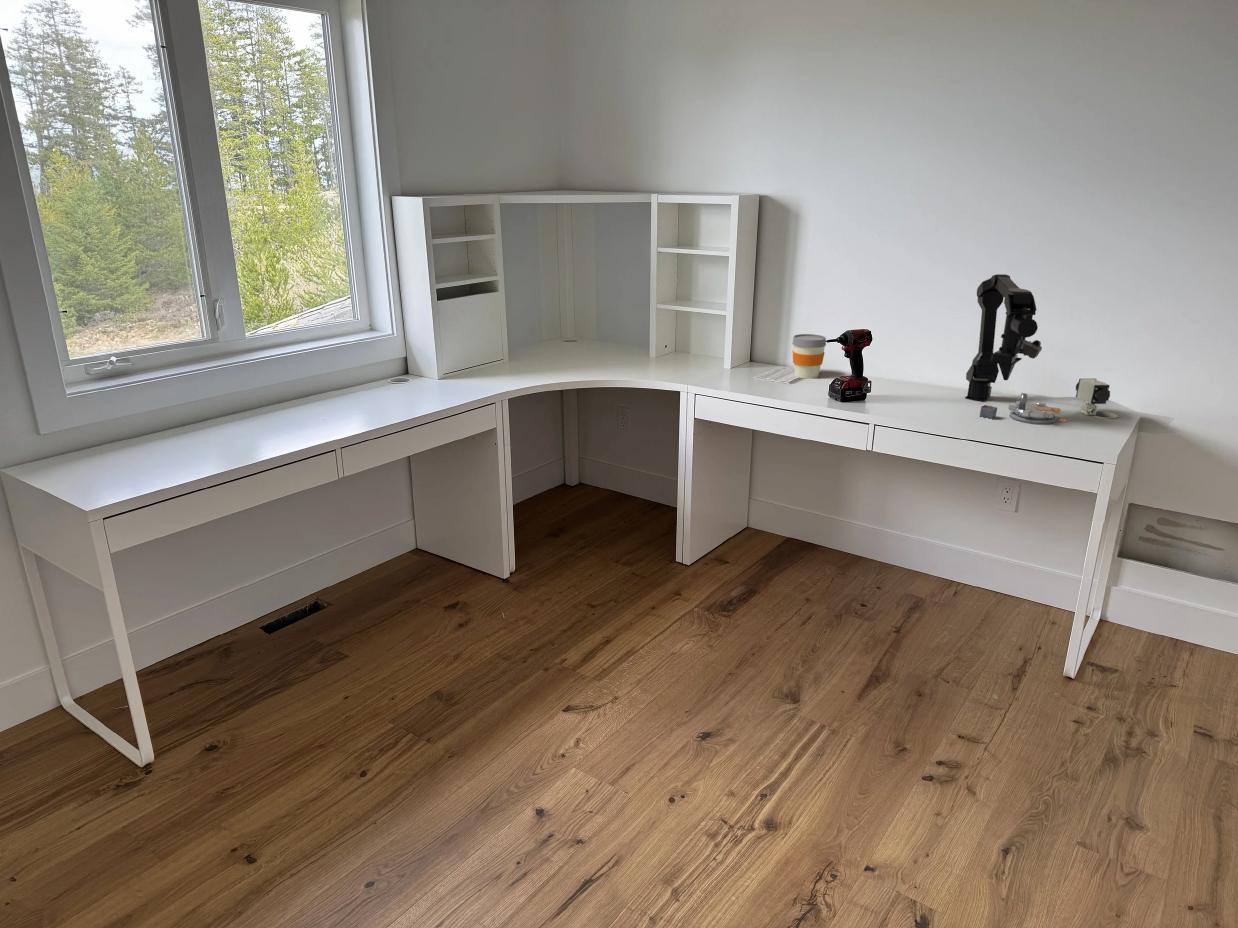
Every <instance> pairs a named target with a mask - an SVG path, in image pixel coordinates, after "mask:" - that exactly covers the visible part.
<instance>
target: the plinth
mask: <svg viewBox="0 0 1238 928" xmlns="http://www.w3.org/2000/svg"><path fill="white" fill-rule="evenodd" d="M1009 417H1010V418H1011V419H1013V420H1015V421H1017V422H1021V423H1025V424H1032V425H1053V424H1055V423H1056V422H1057V416H1056V415H1054V418H1052V419H1048V420H1037V419H1028V418H1024V417H1020V416H1017V415H1015V414H1014V413H1013V411H1012V410H1010V412H1009ZM1058 422H1062V423H1066V422H1067V419H1064V418H1059V419H1058Z"/></svg>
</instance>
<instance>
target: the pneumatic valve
mask: <svg viewBox="0 0 1238 928" xmlns="http://www.w3.org/2000/svg"><path fill="white" fill-rule="evenodd" d="M1075 391H1076V395H1075V397H1076V398H1078V399H1080V400H1082V401H1083V402H1082V403H1081V406H1080V411H1079V412H1080V413H1081V414H1082V415H1084V416H1096V414H1097V412H1098V410H1097V408H1098V405H1106V404H1107V401H1109V399H1110V396H1111V391H1110V384H1107V383H1106V382H1104V381H1100V380H1097V378H1095V377H1094V378H1093V377H1092V378H1079V379H1078V382H1077V383H1076V385H1075Z"/></svg>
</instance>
